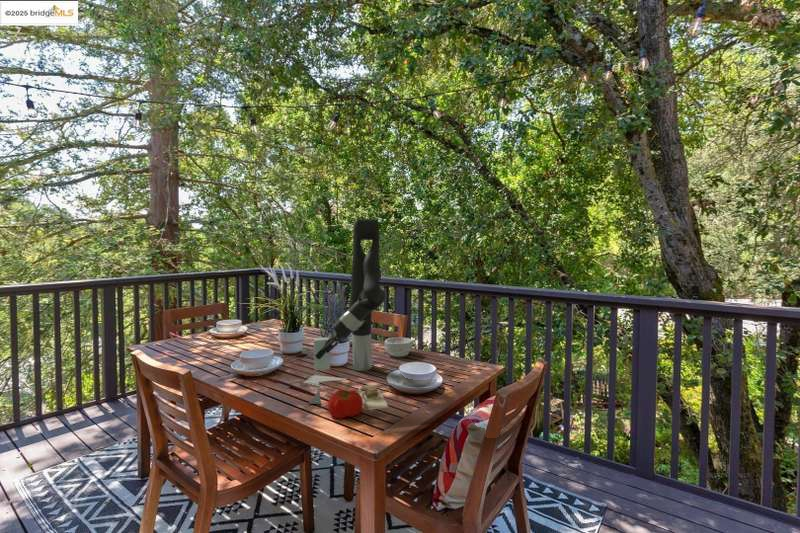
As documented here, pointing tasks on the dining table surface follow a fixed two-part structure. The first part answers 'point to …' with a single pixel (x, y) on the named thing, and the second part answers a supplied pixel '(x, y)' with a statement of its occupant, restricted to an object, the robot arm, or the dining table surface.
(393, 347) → the paper bowls
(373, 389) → the offcut top
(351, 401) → the tomato
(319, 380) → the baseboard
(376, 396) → the offcut low
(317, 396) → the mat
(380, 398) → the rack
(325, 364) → the pale green block
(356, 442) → the dining table surface
